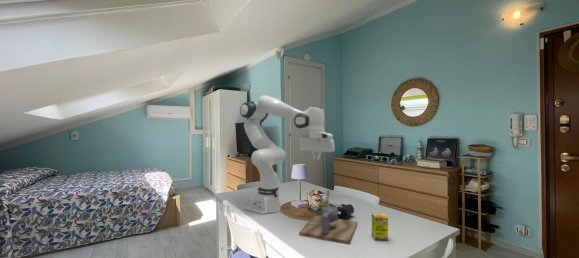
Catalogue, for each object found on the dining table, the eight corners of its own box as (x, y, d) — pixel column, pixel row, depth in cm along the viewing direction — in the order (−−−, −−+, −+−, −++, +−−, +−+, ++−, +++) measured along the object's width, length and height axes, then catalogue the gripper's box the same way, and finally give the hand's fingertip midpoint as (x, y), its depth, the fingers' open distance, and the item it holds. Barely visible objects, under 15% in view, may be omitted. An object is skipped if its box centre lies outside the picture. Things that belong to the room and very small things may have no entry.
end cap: (347, 221, 136) (347, 209, 136) (335, 218, 141) (335, 207, 141) (354, 216, 145) (354, 204, 144) (343, 213, 149) (343, 202, 149)
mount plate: (299, 235, 120) (299, 223, 120) (314, 218, 142) (314, 208, 142) (349, 244, 110) (349, 232, 110) (357, 224, 132) (357, 214, 132)
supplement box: (375, 240, 113) (375, 217, 113) (371, 235, 119) (371, 212, 119) (388, 241, 113) (388, 217, 113) (384, 235, 119) (384, 212, 119)
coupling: (324, 220, 131) (324, 205, 131) (339, 222, 128) (339, 207, 128) (316, 232, 117) (316, 214, 117) (332, 234, 114) (332, 217, 114)
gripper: (297, 134, 140) (297, 159, 141) (332, 135, 131) (332, 161, 131) (302, 134, 146) (302, 157, 146) (335, 134, 137) (335, 159, 137)
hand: (316, 159), depth 139 cm, fingers closed
